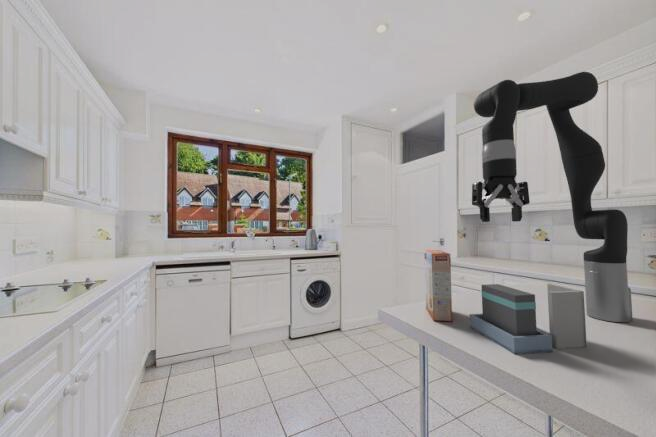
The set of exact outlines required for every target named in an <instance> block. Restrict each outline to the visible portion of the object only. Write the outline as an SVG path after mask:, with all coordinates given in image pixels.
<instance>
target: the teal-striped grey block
mask: <svg viewBox="0 0 656 437" xmlns="http://www.w3.org/2000/svg"><path fill="white" fill-rule="evenodd" d="M480 293H481V303H482V304H481V305H482V306H481V308H482V314H483V320H484V321H486V322H488V323H490V324H492V325H494V326H496V327H498V328H499V329H501V330H503V331H505V332H507V333H509V334H511V335H513V336H529V335H537V328H538V327H537V314H536V313H537V311H536V310H537V306H536V304H537V302H536V295H535V293H530V292H527V291H524V290H520V289H516V288H514V287H510V286H506V285H503V284H499V283H496V284H495V283H494V284H493V283H492V284H481V292H480ZM536 327H537V328H536Z"/></svg>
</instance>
